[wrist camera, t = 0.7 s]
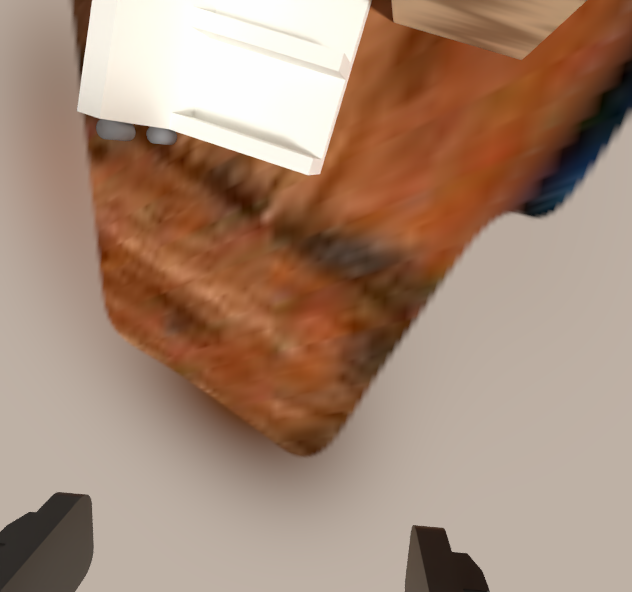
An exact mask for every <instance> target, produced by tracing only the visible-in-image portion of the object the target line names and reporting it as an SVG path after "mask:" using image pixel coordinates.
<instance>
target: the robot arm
mask: <svg viewBox="0 0 632 592" xmlns="http://www.w3.org/2000/svg"><path fill="white" fill-rule="evenodd" d="M92 556H93V523H92V502H91V498H90V496H89V495H84V494H73V493H62V492H58V493H55V494H54V495H53V496H52V497H51V498H50V499H49V500H48V501H47V502H46V503H45V504H44V505H43V506H42V507H41V508H40V509H39V510H38V511H37V512H29V513H27V514H25V515H24V516H22V517H20V518H19V519H17V520H15V521H14V522H12V523H10V524H9V525H7V526H6V527H5V528H4V529H3V530H2V531H1V532H0V592H75V591H76V589H77V588H78V586H79V585H80V583H81V582H82V580H83V579H84V577H85V576H86V574H87V572H88V569H89V567H90V564H91V561H92ZM405 592H490V591H489V588H488V585H487V583H486V580H485V577H484V575H483V572H482V570H481V569H480V568H479V567H478V566H477V564H476V563H475V562H474V561H473V560H472V559H471V557H470V556H469V555H468V554H467V553H455V552H452V551H451V548H450V544H449V541H448V538H447V535H446V531H445V529H444V528H438V527H427V526H416V525H413V526H412V530H411V536H410V545H409V553H408V562H407V570H406V579H405Z"/></svg>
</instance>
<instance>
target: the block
mask: <svg viewBox="0 0 632 592" xmlns="http://www.w3.org/2000/svg"><path fill="white" fill-rule="evenodd" d="M585 1H587V0H392V11H393V21H394V22H395V23H398V24H401V25H405V26H408V27H411V28H415V29H418V30H422V31H425V32H428V33H432V34H435V35H439V36H442V37H445V38H449V39H452V40H456V41H459V42H462V43H466V44H469V45H472V46H476V47H479V48H483V49H486V50H489V51H493V52H496V53H500V54H503V55H506V56H510V57H513V58H516V59H520V60H522V59H523V58H524V57H526V56H527V55H528V54H529V53H530V52H531V51H532V50H533V49H534V48H535V47H536V46H538V45H539V44H540V43H541V42H542V41H543V40H544V39H545V38H546V37H547V36H548V35H550V34H551V33H552V32H553V31H554V30H555V29H556V28H557V27H558V26H559V25H560V24H561V23H563V22H564V21H565V20H566V19H567V18H568V17H569V16H570V15H571V14H572V13H573V12H575V11H576V10H577V9H578V8H579V7H580V6H581V5H582V4H583V3H584V2H585Z"/></svg>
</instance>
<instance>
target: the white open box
mask: <svg viewBox="0 0 632 592" xmlns="http://www.w3.org/2000/svg"><path fill="white" fill-rule="evenodd" d="M371 2H372V0H92V6H91V13H90V20H89V27H88V35H87V42H86V49H85V56H84V63H83V71H82V78H81V85H80V92H79V100H78V106H77V111H78V112H81V113H84V114H87V115H90V116H93V117H96V118H99V119H100V120H99V121H98V122H97V125H96V130H97V133H98V135H99V136H100V137H101V138H103V139H110V140H121V141H130V140H132V139H133V138H134V136H135V128H134V126H133V125H132V124H138V125H145V126H151V127H150V128H149V129H148V130H147V138H148V140H149V141H150V142H151V143H156V144H167V145H172V144H174V143H175V142H176V140H177V134H176V132H179V133H182V134H185V135H188V136H191V137H194V138H197V139H200V140H203V141H206V142H209V143H212V144H215V145H218V146H221V147H224V148H228V149H231V150H234V151H237V152H240V153H243V154H246V155H249V156H252V157H255V158H258V159H261V160H264V161H267V162H270V163H273V164H276V165H279V166H282V167H285V168H288V169H291V170H294V171H297V172H300V173H303V174H306V175H315V174H320V172H321V169H322V166H323V162H324V159H325V156H326V152H327V149H328V146H329V142H330V139H331V135H332V132H333V129H334V125H335V122H336V119H337V115H338V112H339V109H340V105H341V102H342V99H343V95H344V92H345V89H346V85H347V82H348V79H349V75H350V72H351V69H352V65H353V62H354V59H355V55H356V52H357V49H358V45H359V42H360V39H361V35H362V32H363V29H364V25H365V22H366V19H367V15H368V12H369V9H370V5H371ZM131 123H132V124H131ZM175 131H176V132H175Z"/></svg>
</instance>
